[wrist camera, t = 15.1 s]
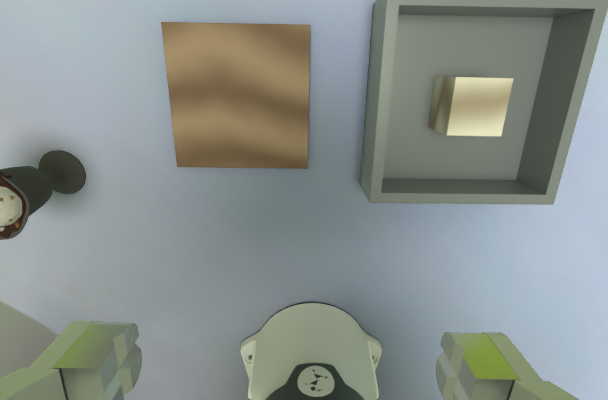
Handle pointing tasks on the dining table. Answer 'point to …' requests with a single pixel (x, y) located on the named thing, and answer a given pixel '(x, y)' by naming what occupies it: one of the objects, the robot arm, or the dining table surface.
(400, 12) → the bin
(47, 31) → the dining table surface
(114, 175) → the dining table surface
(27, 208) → the sundae
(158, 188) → the dining table surface
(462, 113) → the cream block
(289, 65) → the walnut board
